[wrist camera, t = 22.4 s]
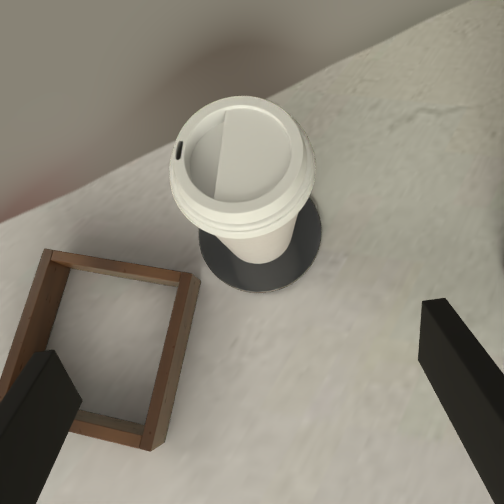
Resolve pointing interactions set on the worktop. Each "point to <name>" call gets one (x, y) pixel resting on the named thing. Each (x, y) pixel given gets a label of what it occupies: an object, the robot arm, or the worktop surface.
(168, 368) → the square wooden frame
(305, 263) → the slate coaster
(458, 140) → the worktop surface
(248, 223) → the coffee cup
